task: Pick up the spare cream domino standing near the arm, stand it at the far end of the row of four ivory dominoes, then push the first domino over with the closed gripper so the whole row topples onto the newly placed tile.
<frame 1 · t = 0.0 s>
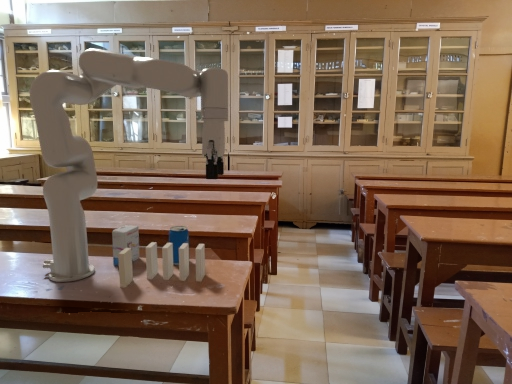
hand: (215, 176, 99), 31 cm above the table, fingers open, 9 cm apart
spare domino: (126, 283, 101), on the table
beverage can: (179, 262, 118), on the table
domino 3: (184, 277, 106), on the table
domino 2: (168, 276, 106), on the table
ink box: (127, 262, 118), on the table
domino 1: (152, 275, 107), on the table
domino 4: (200, 277, 106), on the table
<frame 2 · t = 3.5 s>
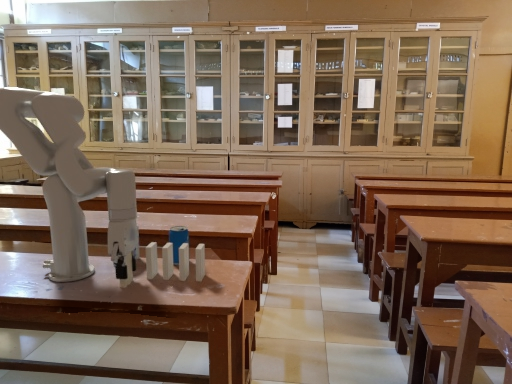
hand: (126, 274, 101), 3 cm above the table, fingers closed on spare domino, 4 cm apart
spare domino: (126, 283, 101), on the table, touching gripper
everything else where it was.
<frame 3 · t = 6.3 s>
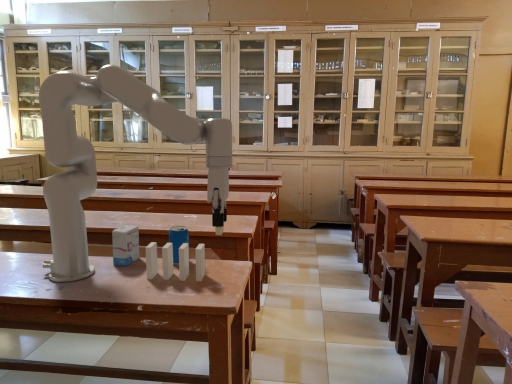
hand: (219, 223, 102), 17 cm above the table, fingers closed on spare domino, 4 cm apart
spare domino: (219, 232, 103), point 14 cm above the table, touching gripper
everything else where it was.
when the fingers open (3 cm above the table, at t = 9.2 s): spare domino stays where it is, on the table.
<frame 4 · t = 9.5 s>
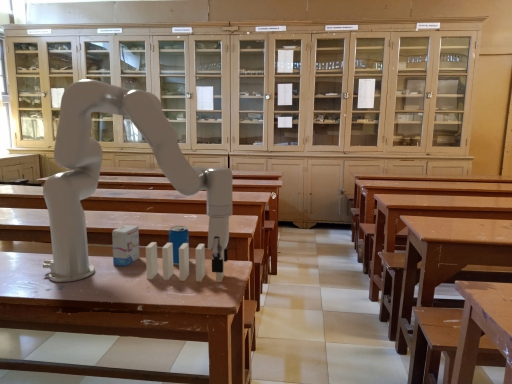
hand: (220, 266, 105), 4 cm above the table, fingers open, 8 cm apart
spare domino: (220, 278, 105), on the table
everything else where it was.
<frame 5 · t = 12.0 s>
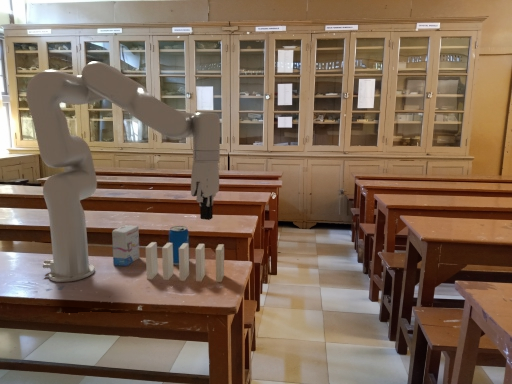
hand: (206, 218, 102), 19 cm above the table, fingers closed
nothing on the table moved.
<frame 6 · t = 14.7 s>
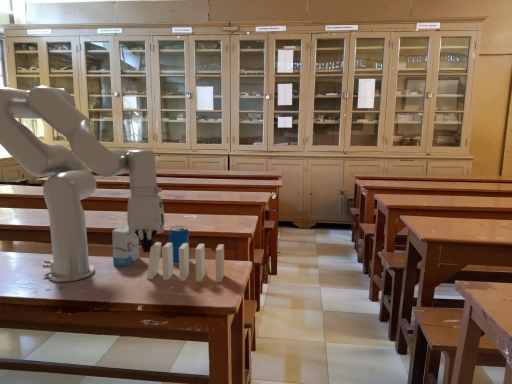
hand: (147, 251, 105), 8 cm above the table, fingers closed
domino 1: (152, 275, 107), on the table, tilted 9°
everything else where it was.
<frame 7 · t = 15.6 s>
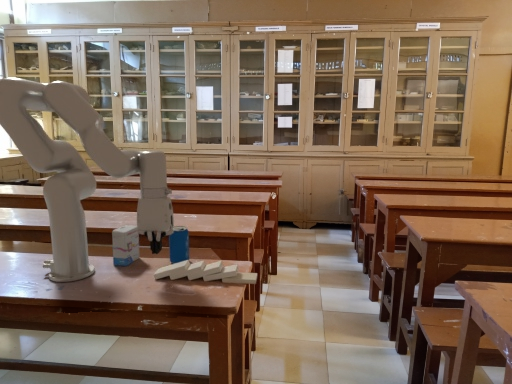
hand: (156, 252, 105), 8 cm above the table, fingers closed
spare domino: (223, 277, 105), on the table, tilted 90°, touching domino 4
domino 3: (190, 274, 106), point 1 cm above the table, tilted 71°, touching domino 4
domino 2: (172, 274, 106), point 1 cm above the table, tilted 72°, touching domino 1
domino 1: (157, 273, 106), point 1 cm above the table, tilted 71°, touching domino 2
domino 4: (205, 275, 106), point 1 cm above the table, tilted 77°, touching domino 3, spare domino
everything else where it was.
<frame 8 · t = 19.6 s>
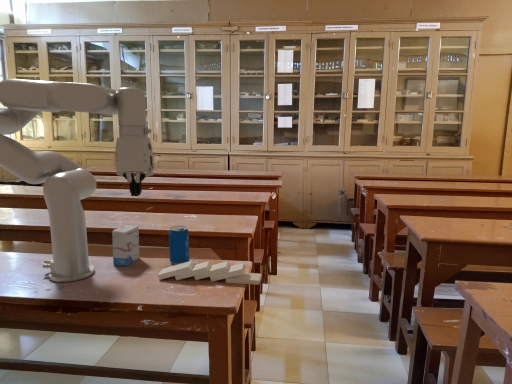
hand: (136, 195, 103), 25 cm above the table, fingers closed
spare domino: (227, 277, 105), on the table, tilted 90°, touching domino 4
domino 3: (196, 274, 106), point 1 cm above the table, tilted 72°, touching domino 2, domino 4
domino 2: (177, 274, 106), point 1 cm above the table, tilted 73°, touching domino 1, domino 3
domino 1: (161, 274, 106), point 1 cm above the table, tilted 72°, touching domino 2
domino 4: (212, 275, 106), point 1 cm above the table, tilted 73°, touching domino 3, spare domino
everything else where it was.
at the end: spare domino tilted 90°; domino 1 tilted 72°; the gripper is holding nothing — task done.
